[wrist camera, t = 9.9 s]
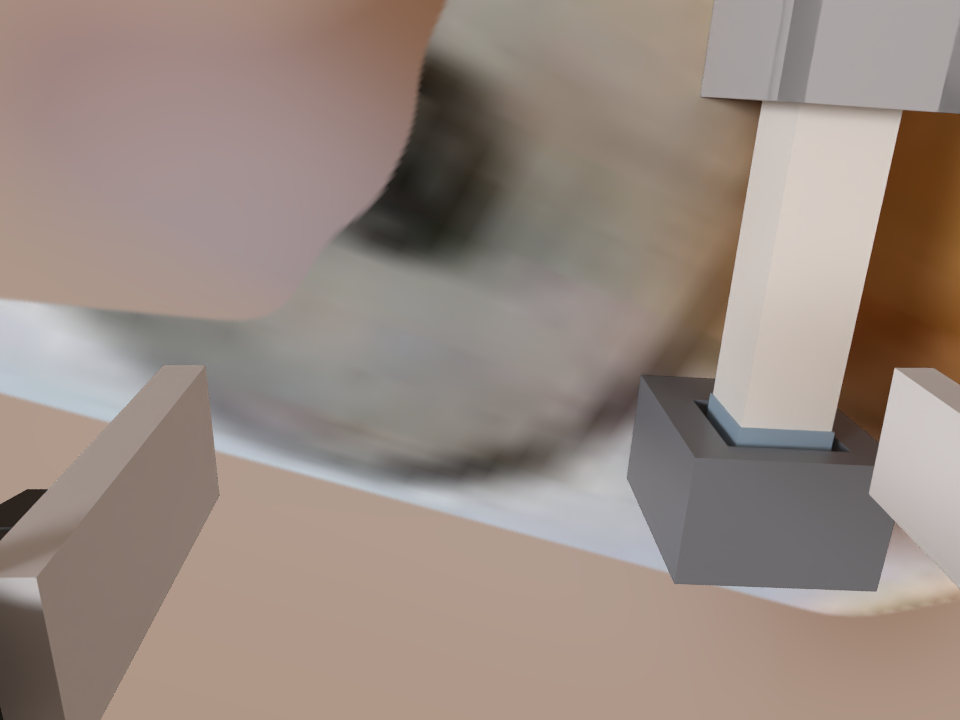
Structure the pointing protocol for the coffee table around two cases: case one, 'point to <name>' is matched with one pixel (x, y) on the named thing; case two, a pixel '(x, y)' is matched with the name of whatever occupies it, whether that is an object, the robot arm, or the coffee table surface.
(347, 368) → the coffee table surface
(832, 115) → the tube
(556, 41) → the coffee table surface
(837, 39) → the sleeve
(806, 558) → the socket fitting
